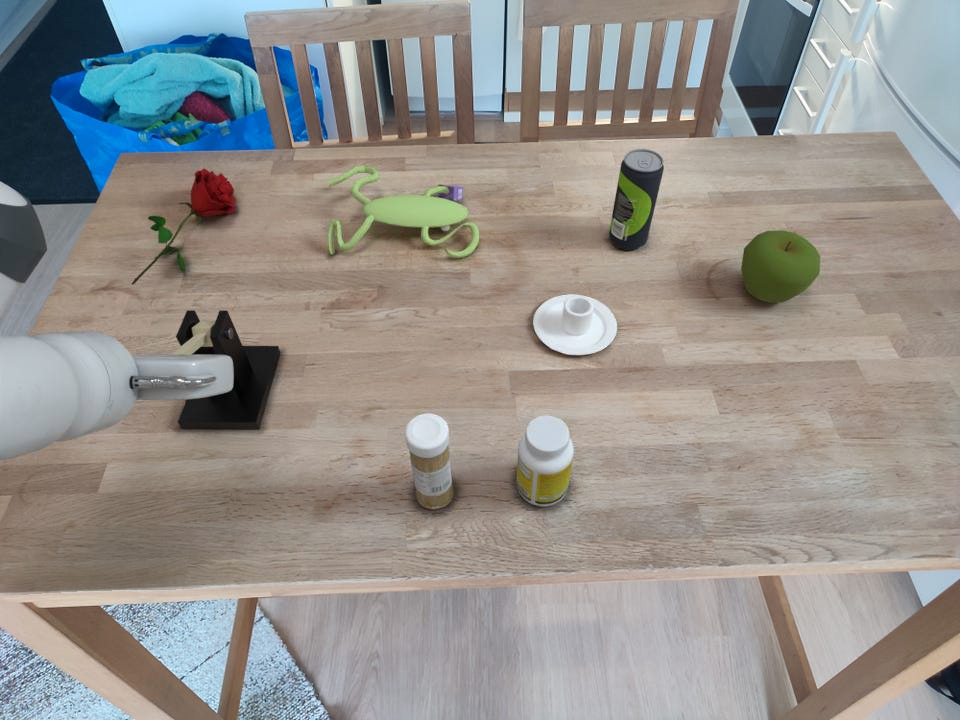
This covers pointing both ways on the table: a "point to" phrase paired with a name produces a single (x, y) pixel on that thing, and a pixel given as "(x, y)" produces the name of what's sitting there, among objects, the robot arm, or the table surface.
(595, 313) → the candle holder
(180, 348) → the lever
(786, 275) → the apple
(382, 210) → the figurine
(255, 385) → the bracket
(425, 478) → the sprinkles bottle
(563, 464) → the pill bottle
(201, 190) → the flower
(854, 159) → the table surface
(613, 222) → the beverage can
